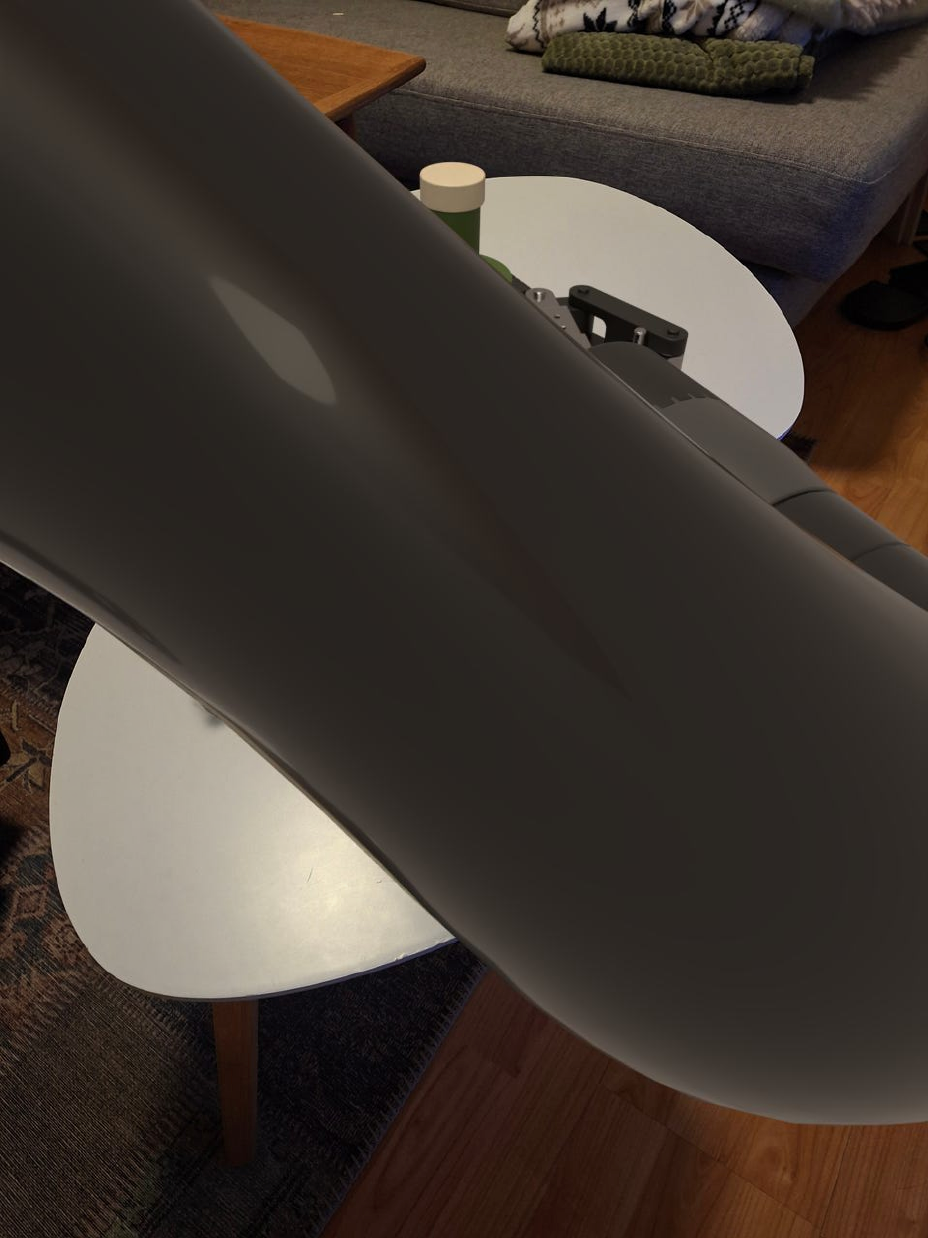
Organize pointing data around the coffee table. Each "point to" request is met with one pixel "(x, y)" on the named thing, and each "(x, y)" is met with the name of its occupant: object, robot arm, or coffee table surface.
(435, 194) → the olive bottle
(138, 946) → the coffee table surface
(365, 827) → the robot arm
